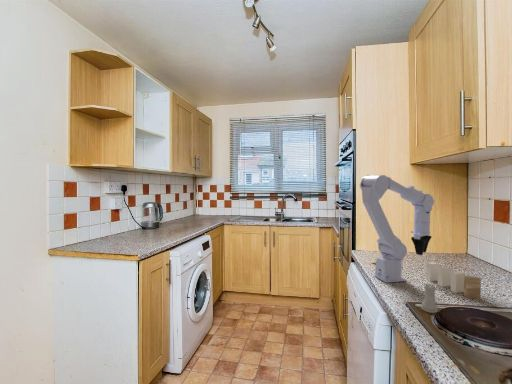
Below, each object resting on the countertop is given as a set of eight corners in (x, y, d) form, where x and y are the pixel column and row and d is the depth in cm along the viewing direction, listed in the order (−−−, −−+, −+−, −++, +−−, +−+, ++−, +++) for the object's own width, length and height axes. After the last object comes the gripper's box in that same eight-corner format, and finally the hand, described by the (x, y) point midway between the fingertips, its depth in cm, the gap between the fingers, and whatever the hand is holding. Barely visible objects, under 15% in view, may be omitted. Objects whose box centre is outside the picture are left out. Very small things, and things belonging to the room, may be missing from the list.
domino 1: (438, 280, 109) (439, 263, 109) (430, 281, 108) (430, 264, 108) (434, 278, 111) (434, 262, 111) (426, 279, 110) (426, 262, 110)
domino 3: (464, 291, 98) (465, 272, 98) (455, 292, 98) (456, 273, 97) (459, 289, 100) (460, 271, 100) (450, 290, 99) (451, 271, 99)
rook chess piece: (441, 312, 83) (442, 287, 83) (429, 314, 82) (430, 288, 82) (429, 306, 87) (430, 281, 87) (417, 307, 86) (418, 283, 86)
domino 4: (480, 298, 92) (480, 278, 92) (466, 297, 93) (467, 278, 93) (476, 296, 94) (477, 276, 94) (463, 295, 95) (464, 275, 95)
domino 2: (450, 285, 104) (451, 268, 103) (442, 286, 103) (442, 268, 103) (446, 283, 106) (446, 266, 105) (437, 284, 105) (438, 267, 105)
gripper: (416, 218, 122) (415, 248, 123) (406, 222, 112) (405, 254, 113) (434, 220, 117) (433, 251, 118) (425, 224, 107) (425, 258, 108)
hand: (421, 253), depth 115 cm, fingers open, 5 cm apart
